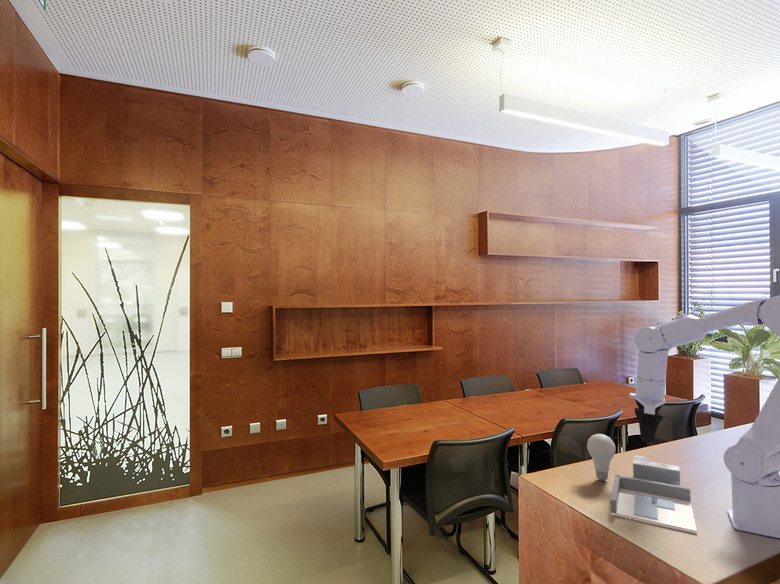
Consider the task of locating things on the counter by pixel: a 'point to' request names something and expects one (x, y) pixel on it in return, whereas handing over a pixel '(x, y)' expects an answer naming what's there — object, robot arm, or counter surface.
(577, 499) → the counter surface
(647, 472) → the bracket
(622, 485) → the white tray
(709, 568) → the counter surface
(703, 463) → the counter surface
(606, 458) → the lightbulb
